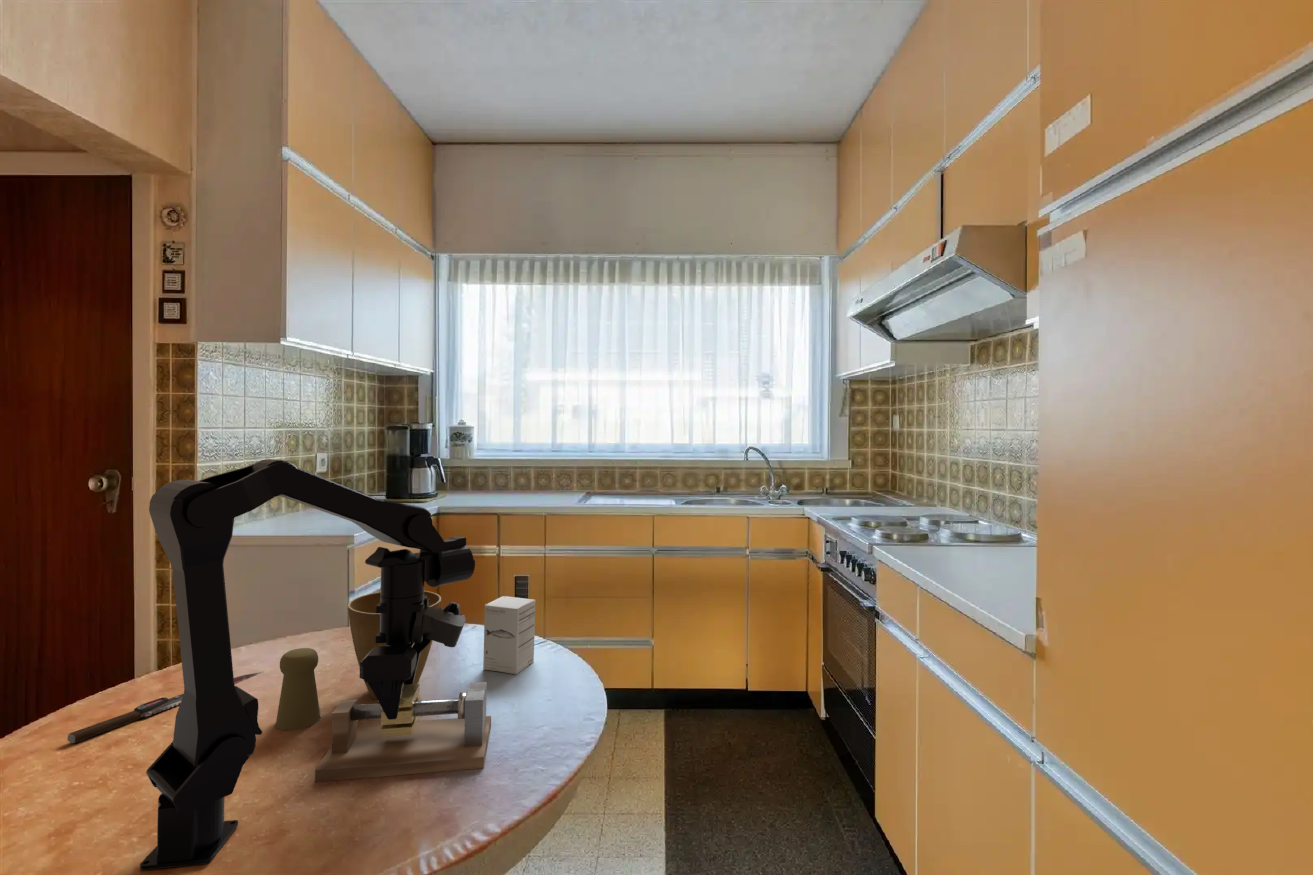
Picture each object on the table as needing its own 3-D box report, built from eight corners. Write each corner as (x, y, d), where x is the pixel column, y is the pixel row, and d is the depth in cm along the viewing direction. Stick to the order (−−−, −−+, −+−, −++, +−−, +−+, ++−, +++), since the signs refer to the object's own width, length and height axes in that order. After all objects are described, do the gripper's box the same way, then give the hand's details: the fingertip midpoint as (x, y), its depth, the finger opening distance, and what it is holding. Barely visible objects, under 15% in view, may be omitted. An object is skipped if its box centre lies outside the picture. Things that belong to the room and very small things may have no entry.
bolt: (482, 745, 84) (482, 699, 84) (337, 756, 81) (337, 708, 81) (486, 725, 90) (486, 681, 90) (351, 734, 87) (351, 689, 87)
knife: (274, 666, 113) (77, 737, 85) (272, 675, 113) (74, 749, 85) (263, 661, 114) (65, 729, 86) (261, 670, 114) (62, 741, 86)
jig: (483, 767, 81) (484, 716, 81) (314, 781, 77) (315, 727, 77) (491, 725, 93) (491, 680, 93) (344, 735, 89) (345, 688, 89)
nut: (411, 734, 83) (412, 698, 83) (380, 737, 82) (381, 700, 82) (419, 717, 88) (419, 683, 88) (389, 719, 87) (390, 685, 87)
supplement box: (481, 670, 114) (482, 604, 114) (502, 656, 122) (503, 594, 122) (516, 675, 112) (517, 608, 112) (535, 661, 119) (536, 598, 119)
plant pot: (336, 715, 95) (338, 615, 95) (356, 678, 110) (358, 591, 110) (435, 705, 99) (437, 609, 99) (442, 671, 114) (444, 587, 114)
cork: (299, 732, 90) (301, 659, 90) (265, 727, 91) (266, 655, 91) (329, 714, 96) (330, 645, 96) (296, 710, 97) (298, 642, 97)
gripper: (452, 610, 77) (450, 731, 77) (469, 576, 95) (467, 674, 96) (359, 613, 75) (357, 738, 75) (395, 578, 93) (393, 678, 93)
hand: (400, 703), depth 85 cm, fingers open, 9 cm apart
